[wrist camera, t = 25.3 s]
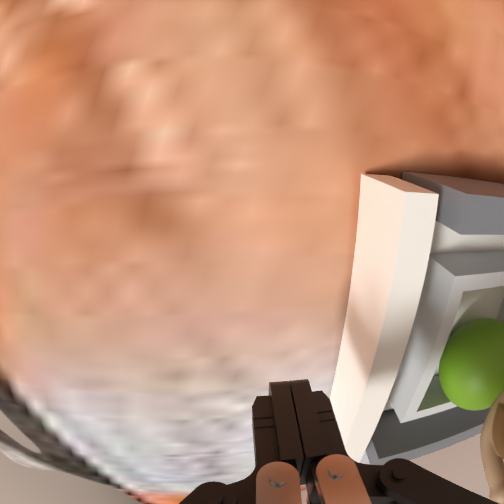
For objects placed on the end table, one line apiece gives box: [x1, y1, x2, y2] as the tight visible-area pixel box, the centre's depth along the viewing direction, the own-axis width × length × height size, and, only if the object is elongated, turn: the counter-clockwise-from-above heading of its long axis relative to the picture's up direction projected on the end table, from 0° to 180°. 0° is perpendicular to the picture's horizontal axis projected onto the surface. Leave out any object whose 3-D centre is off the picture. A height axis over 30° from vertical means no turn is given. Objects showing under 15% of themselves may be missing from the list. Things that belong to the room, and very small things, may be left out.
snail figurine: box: [439, 318, 504, 504], centre depth 11 cm, size 5×6×12 cm
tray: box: [330, 174, 504, 463], centre depth 15 cm, size 17×17×4 cm
